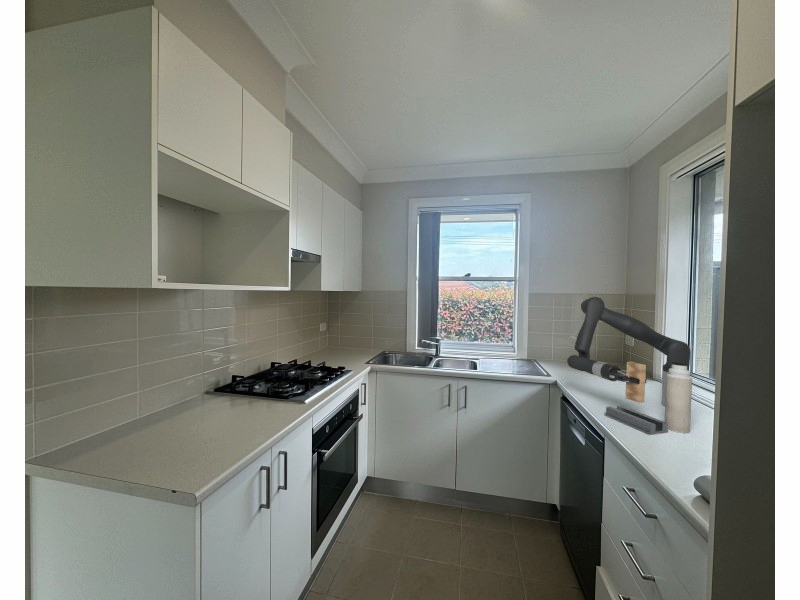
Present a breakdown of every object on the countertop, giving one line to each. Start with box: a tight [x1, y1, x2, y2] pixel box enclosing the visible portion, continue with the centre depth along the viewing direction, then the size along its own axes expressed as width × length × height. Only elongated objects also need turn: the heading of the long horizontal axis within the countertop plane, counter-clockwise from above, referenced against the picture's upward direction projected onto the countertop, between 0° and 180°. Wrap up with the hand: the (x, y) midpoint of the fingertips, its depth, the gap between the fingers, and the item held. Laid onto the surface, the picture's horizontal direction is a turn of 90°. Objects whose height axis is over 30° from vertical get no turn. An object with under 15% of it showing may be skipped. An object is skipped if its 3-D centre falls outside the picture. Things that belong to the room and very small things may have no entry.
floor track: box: [604, 404, 669, 436], centre depth 135 cm, size 20×10×4 cm, turn 15°
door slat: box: [624, 361, 647, 404], centre depth 135 cm, size 6×3×16 cm, turn 15°
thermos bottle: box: [664, 361, 693, 434], centre depth 130 cm, size 8×8×28 cm
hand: (642, 381), depth 132 cm, fingers closed on door slat, 3 cm apart
